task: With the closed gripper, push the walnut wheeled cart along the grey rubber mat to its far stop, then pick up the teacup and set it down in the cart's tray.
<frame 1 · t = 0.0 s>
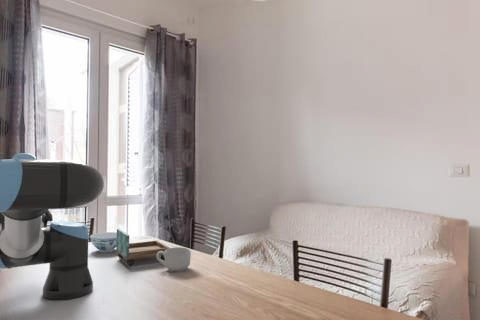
hand: (21, 234, 135), 15 cm above the table, tool tilted 35°, fingers open, 13 cm apart
teacup: (173, 270, 145), on the table
track mat: (153, 259, 160), on the table
chinaware: (106, 251, 173), on the table
cart: (143, 244, 157), point 7 cm above the table, slide at 0.0 cm
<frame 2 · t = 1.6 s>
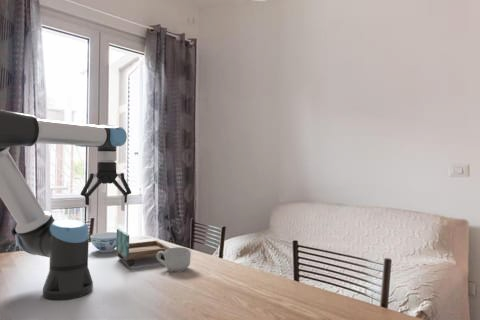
hand: (106, 211, 149), 23 cm above the table, tool pointing down, fingers open, 13 cm apart
nothing on the table moved.
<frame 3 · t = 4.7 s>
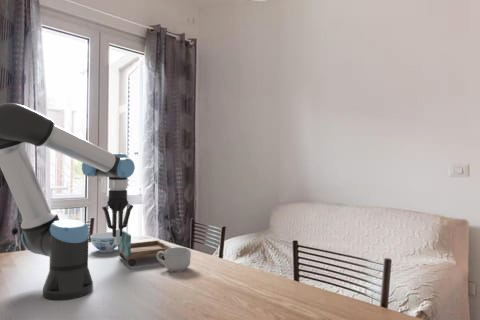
hand: (117, 244, 151), 9 cm above the table, tool pointing down, fingers closed
cart: (144, 244, 157), point 7 cm above the table, slide at 0.7 cm, touching gripper
everything else where it was.
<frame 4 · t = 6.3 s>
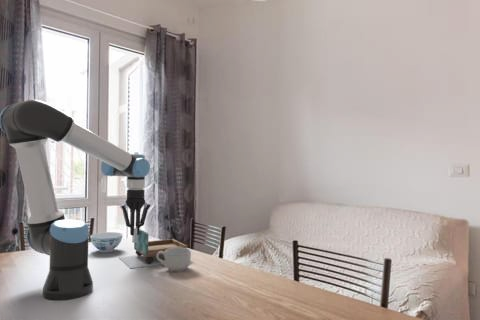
hand: (134, 242, 155), 9 cm above the table, tool pointing down, fingers closed
cart: (160, 242, 161), point 7 cm above the table, slide at 8.1 cm, touching gripper
everything else where it was.
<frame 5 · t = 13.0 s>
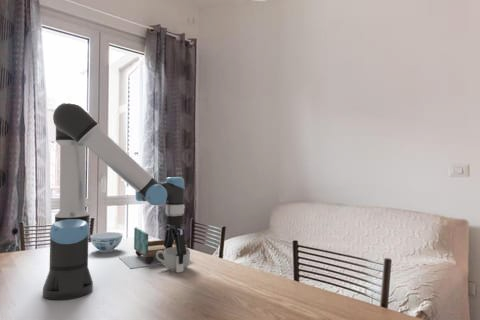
hand: (174, 268, 145), 1 cm above the table, tool pointing down, fingers closed on teacup, 11 cm apart
teacup: (173, 269, 145), on the table, touching gripper
cart: (160, 242, 161), point 7 cm above the table, slide at 8.0 cm
everything else where it was.
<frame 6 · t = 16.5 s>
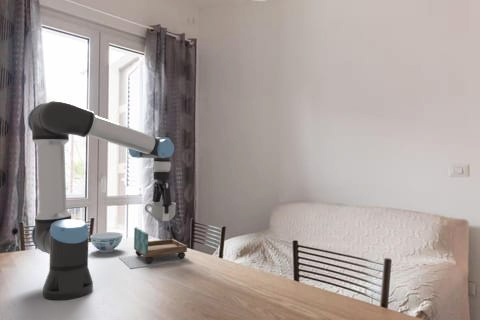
hand: (161, 219, 161), 18 cm above the table, tool pointing down, fingers closed on teacup, 11 cm apart
teacup: (160, 220, 162), point 17 cm above the table, touching gripper
everything else where it was.
when the fingers open (7 cm above the table, at t = 19.7 s): teacup drops 2 cm, resting on cart.
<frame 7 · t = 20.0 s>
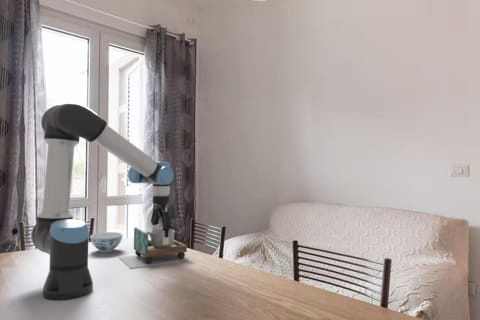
hand: (160, 241, 161), 8 cm above the table, tool pointing down, fingers open, 13 cm apart
teacup: (159, 248, 162), point 4 cm above the table, touching cart
cart: (160, 242, 161), point 7 cm above the table, slide at 7.9 cm, touching teacup
everything else where it was.
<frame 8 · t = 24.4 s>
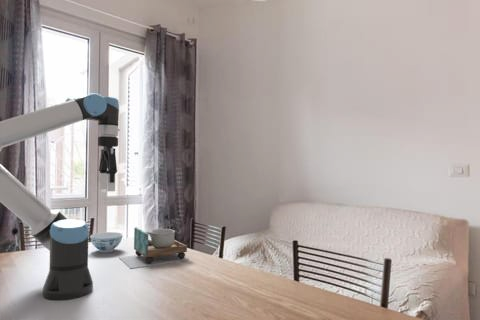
hand: (107, 190, 139), 33 cm above the table, tool pointing down, fingers open, 13 cm apart
nothing on the table moved.
at the end: cart slide at 8.0 cm; teacup inside the target area (0.7 cm from its centre), point 4.4 cm above the table; teacup tilted 0° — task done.
